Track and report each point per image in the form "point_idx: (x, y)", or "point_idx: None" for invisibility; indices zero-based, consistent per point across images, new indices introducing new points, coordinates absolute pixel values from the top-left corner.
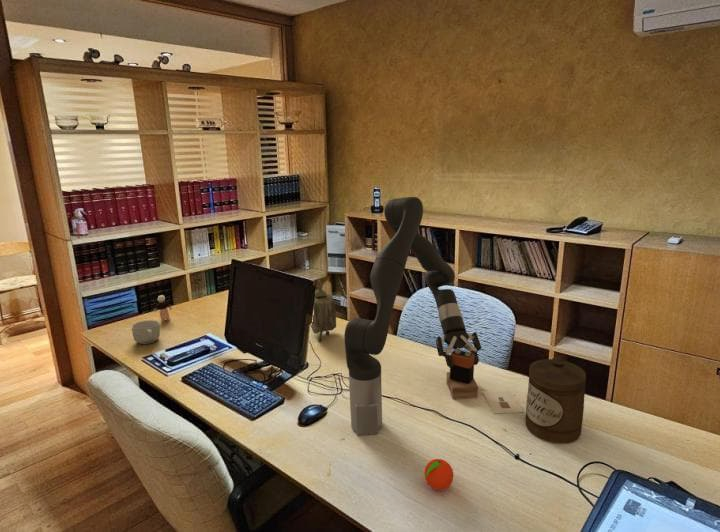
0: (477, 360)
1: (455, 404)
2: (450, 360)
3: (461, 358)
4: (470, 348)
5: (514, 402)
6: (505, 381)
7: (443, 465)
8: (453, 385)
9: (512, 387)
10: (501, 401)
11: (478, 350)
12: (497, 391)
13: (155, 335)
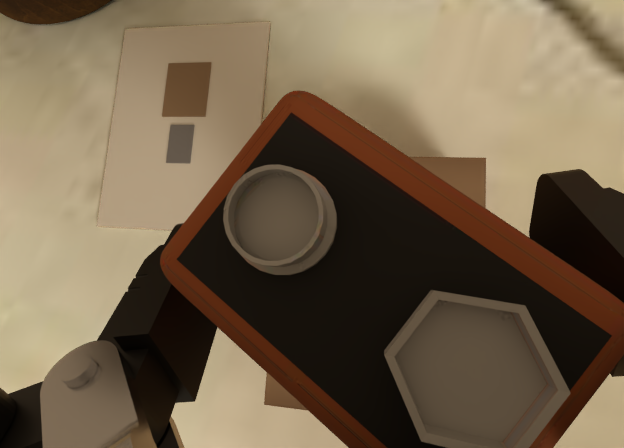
0: (171, 234)
1: (460, 123)
2: (615, 216)
3: (423, 169)
4: (145, 425)
5: (128, 109)
6: (75, 341)
7: None
8: (473, 193)
9: (70, 266)
10: (187, 124)
11: (38, 397)
12: (166, 227)
13: None
